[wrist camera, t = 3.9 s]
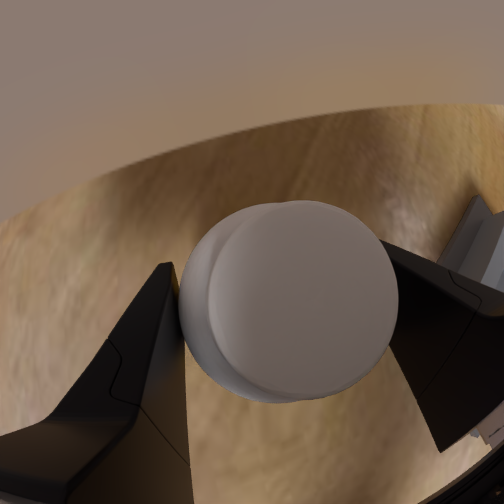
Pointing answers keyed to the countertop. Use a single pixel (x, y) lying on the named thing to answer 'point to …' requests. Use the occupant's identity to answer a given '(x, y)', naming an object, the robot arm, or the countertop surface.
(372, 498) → the countertop surface
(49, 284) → the countertop surface
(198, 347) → the supplement bottle
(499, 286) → the dock
